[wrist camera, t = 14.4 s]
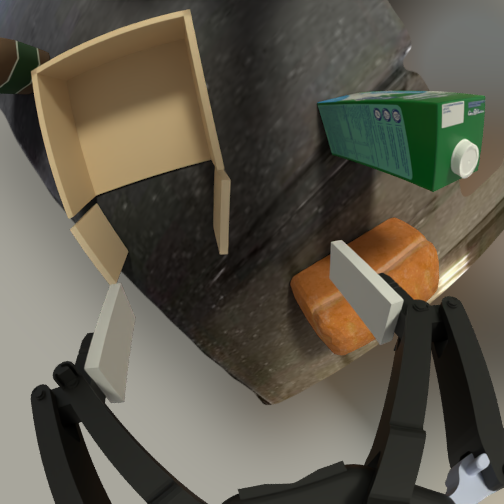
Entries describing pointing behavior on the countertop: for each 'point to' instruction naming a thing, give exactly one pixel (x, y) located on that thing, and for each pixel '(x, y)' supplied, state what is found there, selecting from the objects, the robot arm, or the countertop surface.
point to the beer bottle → (18, 66)
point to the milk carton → (408, 133)
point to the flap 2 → (221, 209)
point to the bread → (381, 261)
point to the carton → (125, 108)
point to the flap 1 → (101, 243)
